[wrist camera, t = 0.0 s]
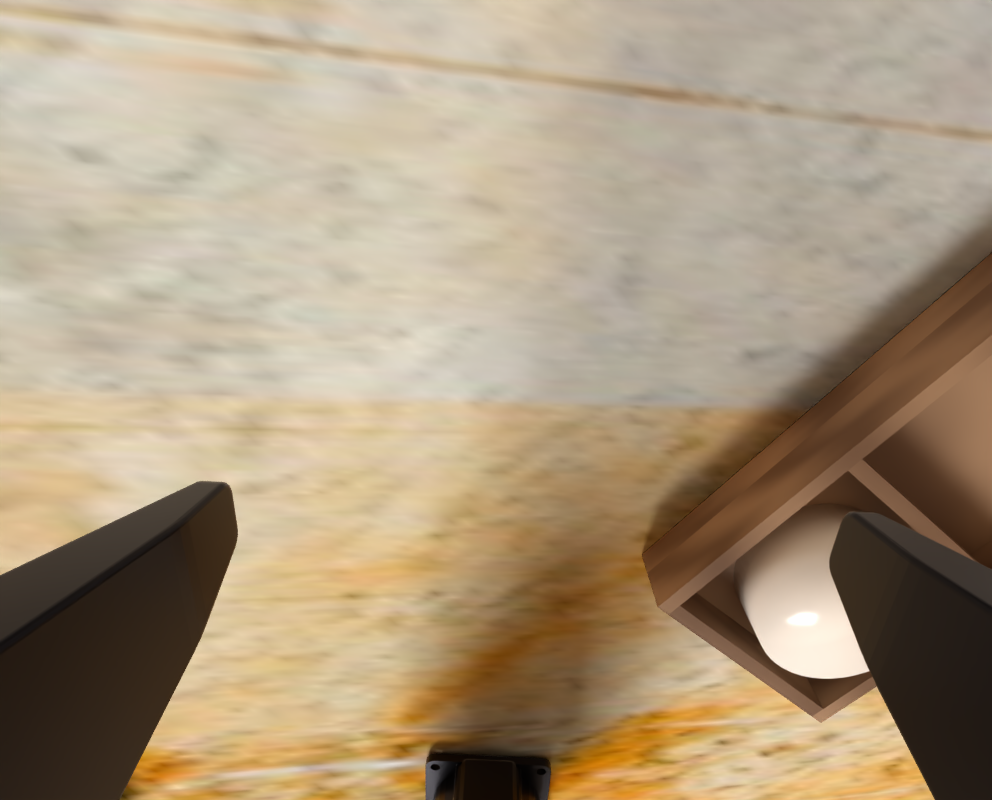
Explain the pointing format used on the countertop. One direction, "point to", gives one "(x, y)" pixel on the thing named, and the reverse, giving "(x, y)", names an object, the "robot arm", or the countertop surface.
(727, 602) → the caddy
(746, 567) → the cream rounded shiny part
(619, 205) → the countertop surface
